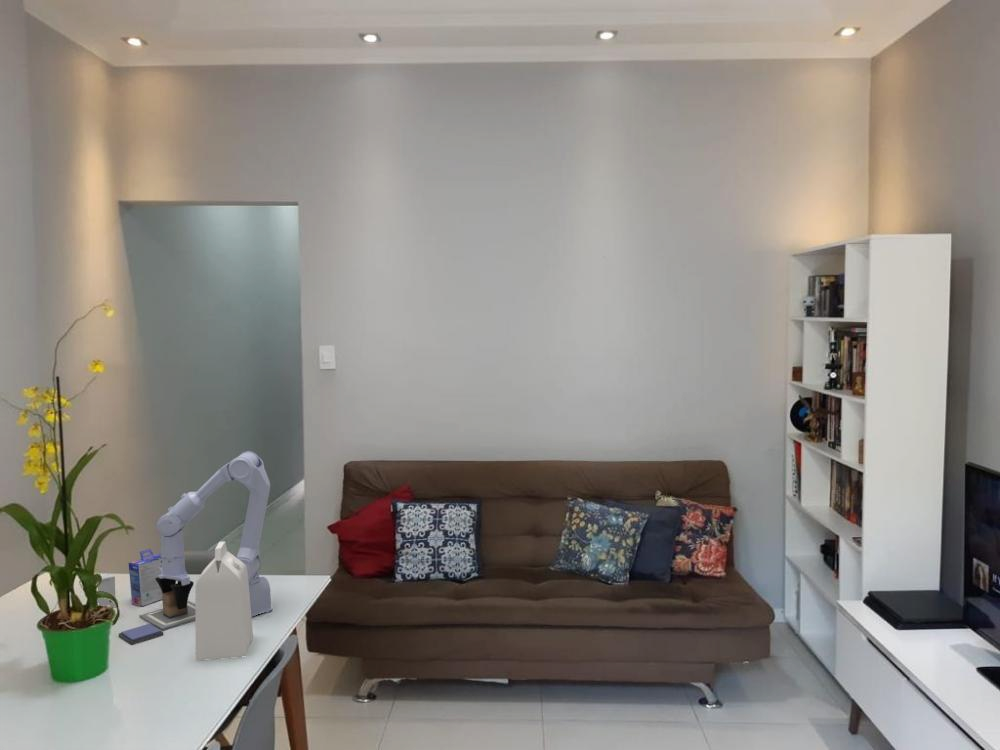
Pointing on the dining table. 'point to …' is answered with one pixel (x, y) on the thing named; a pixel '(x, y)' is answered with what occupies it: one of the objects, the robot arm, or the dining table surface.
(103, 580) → the skincare box
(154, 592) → the ink cartridge box
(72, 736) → the dining table surface
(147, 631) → the ink pad
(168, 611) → the stamp
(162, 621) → the mat
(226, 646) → the milk
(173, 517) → the robot arm
